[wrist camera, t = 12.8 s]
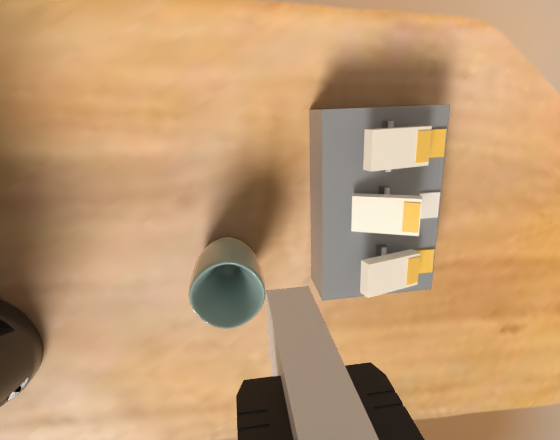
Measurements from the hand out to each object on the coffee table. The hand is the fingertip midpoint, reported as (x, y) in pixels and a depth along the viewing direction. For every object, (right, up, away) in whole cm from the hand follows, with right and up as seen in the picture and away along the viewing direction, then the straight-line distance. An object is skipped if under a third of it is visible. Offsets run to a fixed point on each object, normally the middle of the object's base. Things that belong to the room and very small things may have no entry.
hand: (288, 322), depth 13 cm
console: (+10, +7, +34) cm, 36 cm away
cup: (-7, -1, +34) cm, 35 cm away
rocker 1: (+11, +11, +25) cm, 30 cm away
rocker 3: (+12, -2, +29) cm, 31 cm away
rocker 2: (+11, +5, +27) cm, 30 cm away
